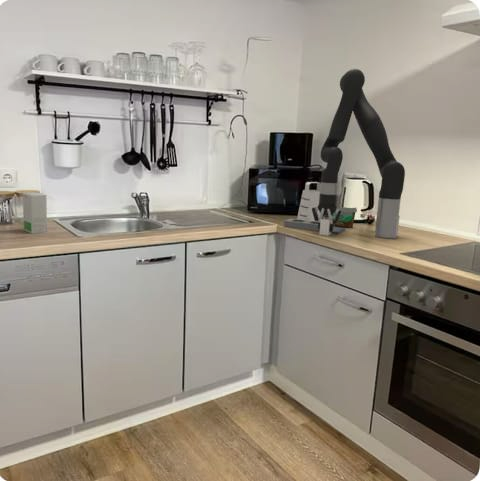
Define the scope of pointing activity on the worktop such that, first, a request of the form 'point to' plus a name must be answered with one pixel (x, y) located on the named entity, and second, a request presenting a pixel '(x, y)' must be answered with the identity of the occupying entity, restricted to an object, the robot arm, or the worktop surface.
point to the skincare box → (35, 212)
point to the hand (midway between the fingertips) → (325, 231)
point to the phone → (337, 230)
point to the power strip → (301, 224)
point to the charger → (324, 226)
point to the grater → (309, 202)
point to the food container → (345, 217)
